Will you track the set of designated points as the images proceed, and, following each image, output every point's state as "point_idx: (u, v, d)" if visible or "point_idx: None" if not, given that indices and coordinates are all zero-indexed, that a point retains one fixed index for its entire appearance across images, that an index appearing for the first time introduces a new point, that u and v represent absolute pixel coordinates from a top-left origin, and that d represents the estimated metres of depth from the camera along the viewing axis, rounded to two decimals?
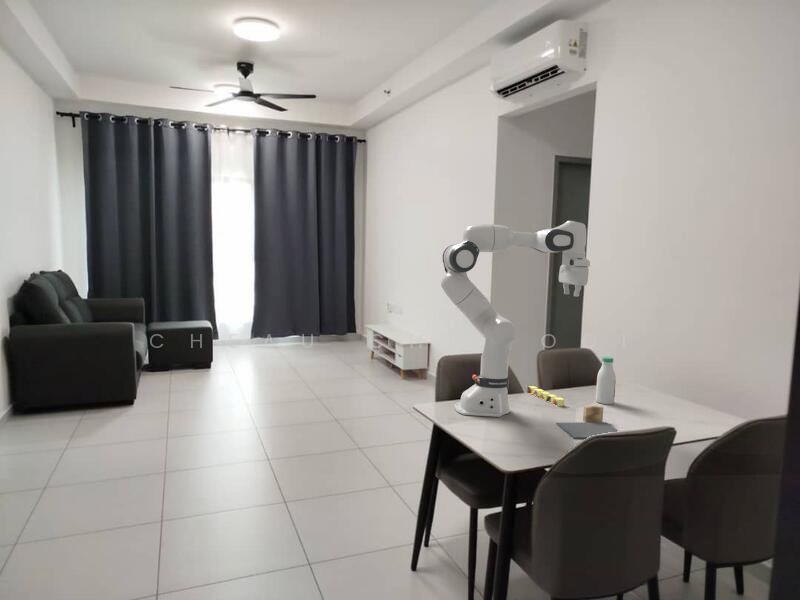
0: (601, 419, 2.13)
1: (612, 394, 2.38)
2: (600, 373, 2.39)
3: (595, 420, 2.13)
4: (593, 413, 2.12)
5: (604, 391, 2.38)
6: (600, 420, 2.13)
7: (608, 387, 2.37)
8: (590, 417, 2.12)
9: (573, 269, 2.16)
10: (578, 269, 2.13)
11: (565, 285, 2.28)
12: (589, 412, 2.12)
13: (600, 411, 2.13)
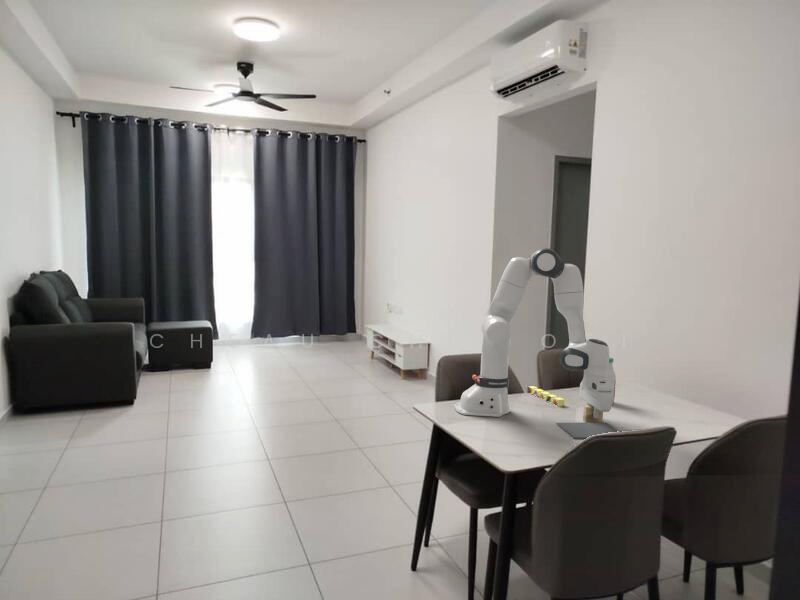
0: (601, 419, 2.13)
1: (612, 394, 2.38)
2: None
3: (595, 420, 2.13)
4: None
5: None
6: (600, 420, 2.13)
7: None
8: (590, 417, 2.12)
9: (596, 393, 2.07)
10: (601, 395, 2.03)
11: (589, 405, 2.15)
12: (589, 412, 2.12)
13: (600, 411, 2.12)
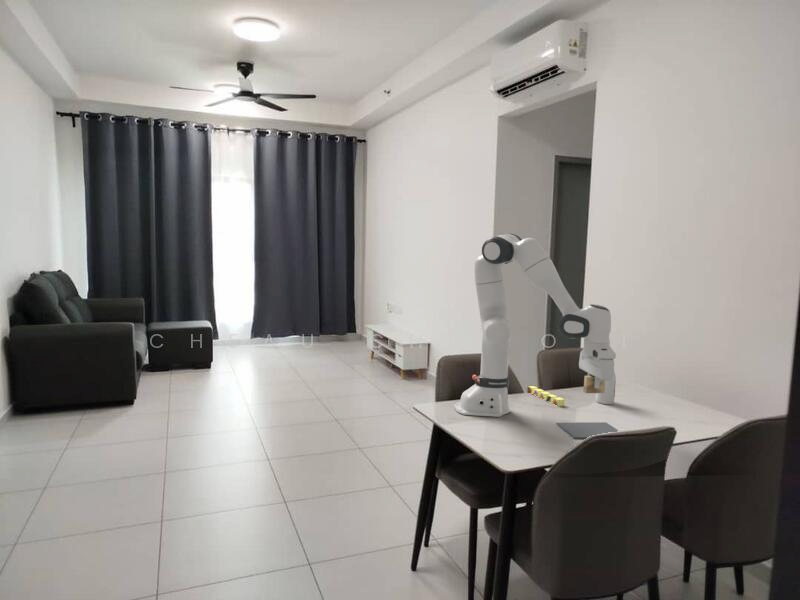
0: (603, 390, 2.00)
1: (612, 394, 2.38)
2: None
3: (596, 391, 2.00)
4: None
5: (604, 391, 2.38)
6: (602, 391, 2.00)
7: (608, 387, 2.37)
8: (591, 387, 1.99)
9: (597, 361, 1.94)
10: (603, 362, 1.90)
11: (590, 375, 2.02)
12: (590, 382, 1.99)
13: (602, 381, 1.99)
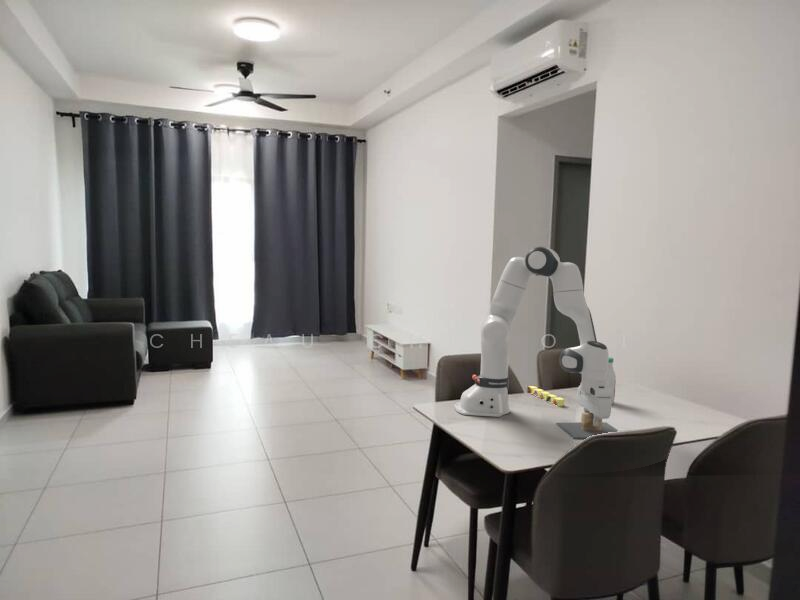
0: (600, 427, 2.01)
1: None
2: None
3: (594, 428, 2.01)
4: None
5: None
6: (599, 428, 2.01)
7: None
8: (589, 424, 2.01)
9: (594, 398, 1.95)
10: (600, 401, 1.91)
11: (586, 410, 2.05)
12: (588, 419, 2.00)
13: None
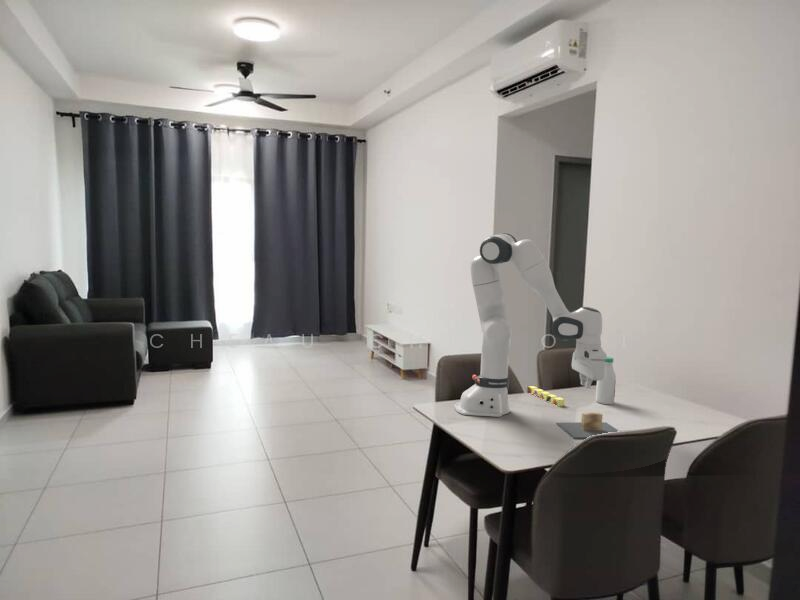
0: (600, 427, 2.01)
1: (612, 394, 2.38)
2: None
3: (594, 428, 2.01)
4: (592, 420, 2.01)
5: (604, 391, 2.38)
6: (599, 428, 2.01)
7: (608, 387, 2.37)
8: (589, 424, 2.01)
9: (588, 361, 2.00)
10: (594, 363, 1.97)
11: (582, 375, 2.09)
12: (588, 419, 2.00)
13: (599, 418, 2.01)
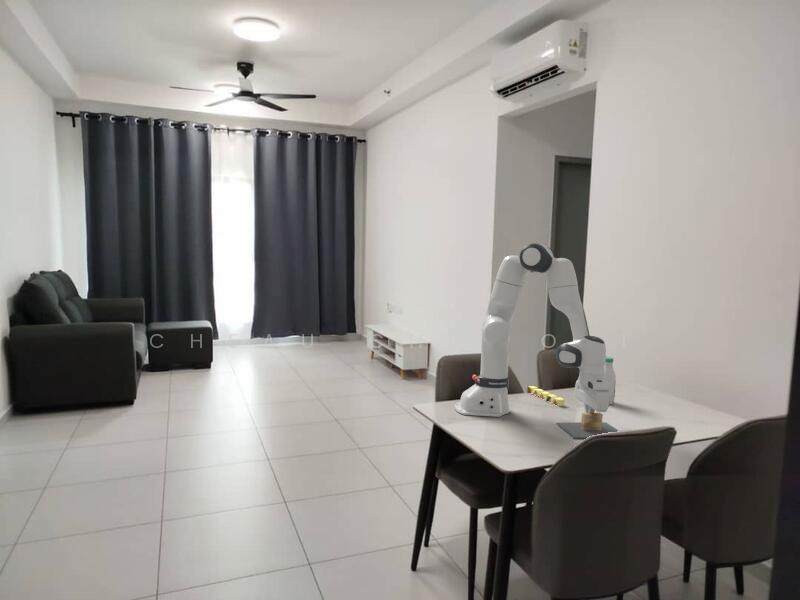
0: (600, 427, 2.01)
1: (612, 394, 2.38)
2: None
3: (594, 428, 2.01)
4: (592, 420, 2.01)
5: None
6: (599, 428, 2.01)
7: None
8: (589, 424, 2.01)
9: (592, 392, 1.97)
10: (598, 394, 1.94)
11: (587, 406, 2.05)
12: (588, 420, 2.00)
13: (599, 419, 2.01)
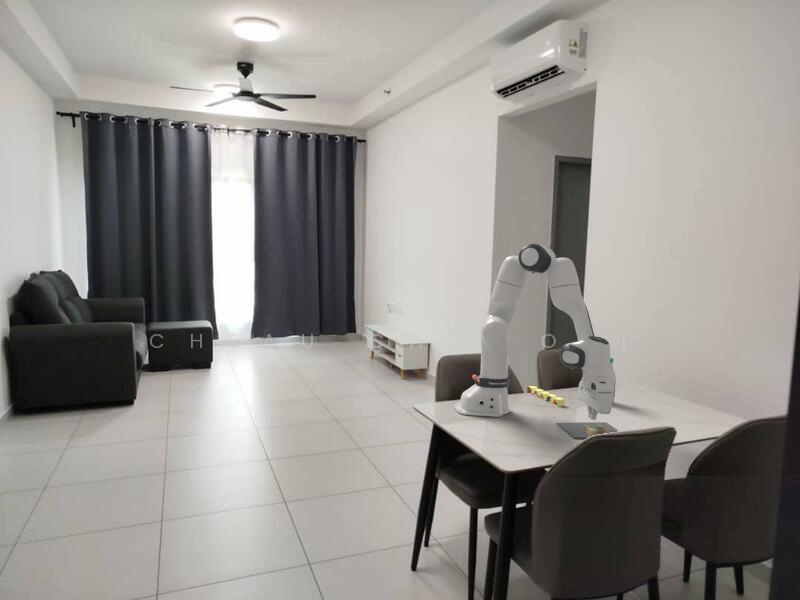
0: None
1: (612, 394, 2.38)
2: None
3: None
4: None
5: None
6: None
7: None
8: None
9: (595, 394, 1.93)
10: (601, 396, 1.90)
11: (590, 407, 2.01)
12: None
13: None
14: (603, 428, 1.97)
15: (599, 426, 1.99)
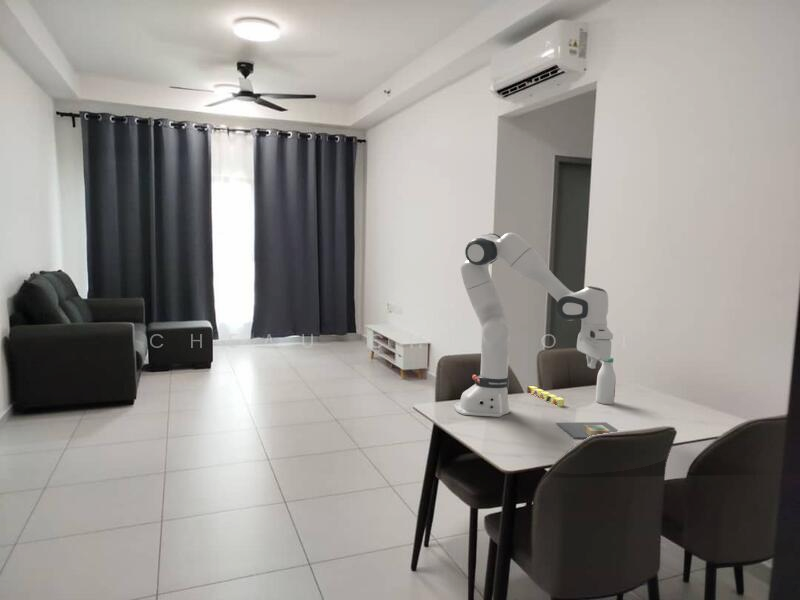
0: None
1: (612, 394, 2.38)
2: (600, 373, 2.39)
3: None
4: None
5: (604, 391, 2.38)
6: None
7: (608, 387, 2.37)
8: None
9: (594, 341, 1.96)
10: (600, 343, 1.92)
11: (589, 357, 2.04)
12: None
13: None
14: (603, 428, 1.97)
15: (599, 426, 1.99)
